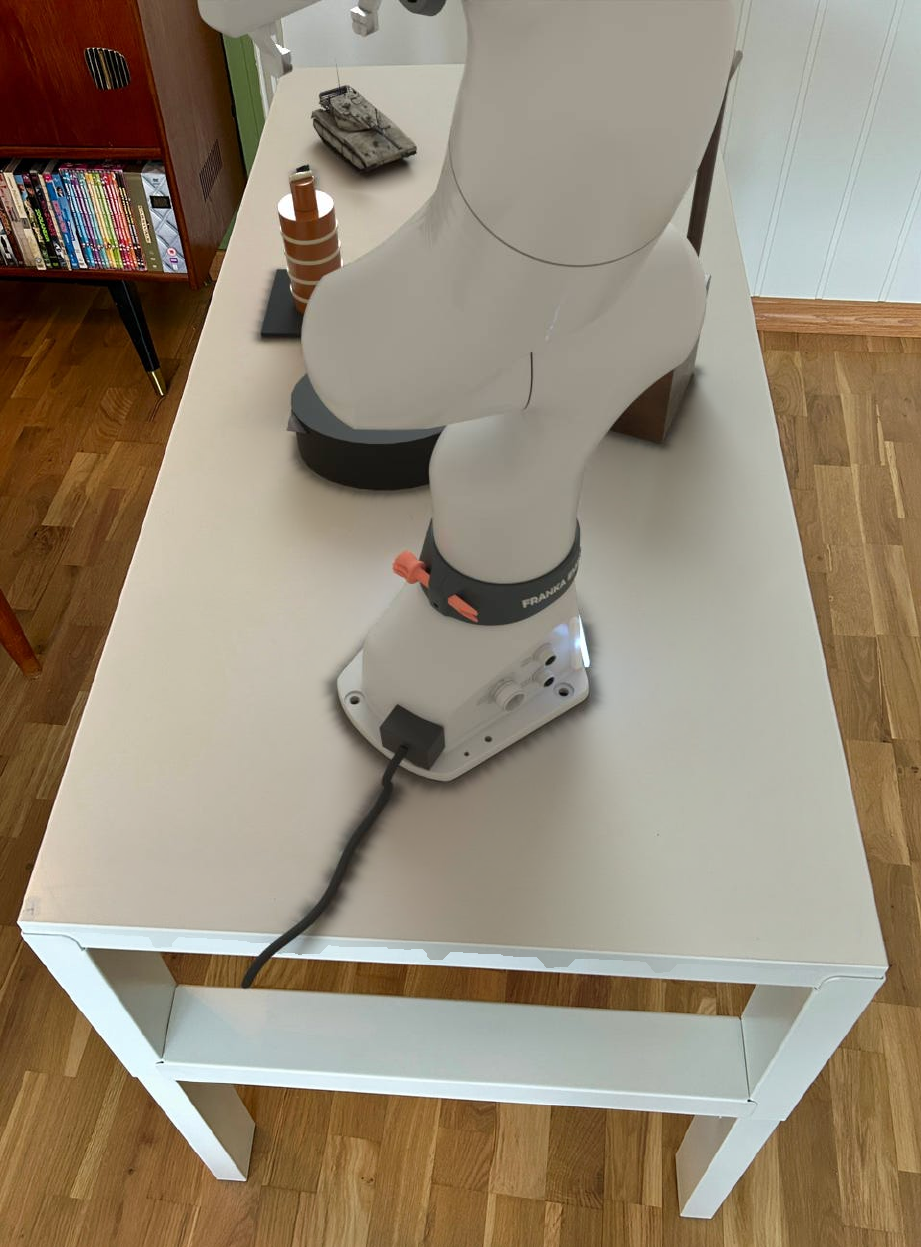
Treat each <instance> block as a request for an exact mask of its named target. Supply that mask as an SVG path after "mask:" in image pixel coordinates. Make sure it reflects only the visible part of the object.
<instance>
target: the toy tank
mask: <svg viewBox="0 0 921 1247" xmlns="http://www.w3.org/2000/svg"><path fill="white" fill-rule="evenodd" d="M334 59H335V61H336V60H337V59H336V58H334ZM335 67H336V68H338V66H337V64H336V65H335ZM336 72H337V73H336V74H337V75H339V72H338V70H336ZM337 81H338V87H334V88H331V89H328V90H324V91H321V92H319V94H318V99H319V101H318V105H320V107H321V108H318V109H315V110H312V111H311V115H310V116H311V117H310V120H311V119H312V126H313V128H314V131H315V132H316V133H317V135H318V137H319V139H320V140H321V142H322V143H323V144H324V145H325V146H326V147H327V148H328V149H330V150H331V151H332V152H333V153H334V154H335V155H336V156H338V157H339V158H340V159H341V160H342V161H343V162H344V163H346V164H347V165H348V166H349V167H350V168H351V169H353V170H354V171H355V172H356V173H357V174H360V173H364V172H366V173H368V172H369V171H370V170H375V169H377V168H379V166H382V165H385V164H388V163H390V162H393V161H396V160H402V159H405V158H407V159H409V157H412V156H415V155H417V154H418V152H417V151H418V146H417V145H416V143H415V142H414V141H413V140H412V138H410V137H409V136H408V135H407V134H405V133H404V132H403V130H401V128H400V127H399V126H398V125H397V124H396V123H395V122H394V121H393V120H391V119H390V118H389V117H388V116H387V115H386V114H384V113H383V112H382V111H381V110H379V108H377V107H376V106H374V104H372V103H371V102H370V101H369V100H367V99H366V98H365V97H364V96H363V95H361V94H360V93H359V92H358V91H357V90H356V89H355V88H354V87H351V86H350V85H347V84H346V85H345V84H344V85H342V86H341V85H340V79H339V77H337Z"/></svg>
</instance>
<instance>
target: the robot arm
mask: <svg viewBox="0 0 921 1247" xmlns="http://www.w3.org/2000/svg"><path fill="white" fill-rule="evenodd" d="M382 1H383V0H358V1H357V6H356V7H354V8H352V9H350V17H351V18H350V19H351V20H352V22H351V26H352V30H353V32H354V33H355V35H360V36H361V37H363V38H366V37H369V36H370V35H373V34H374V33H376V32H378V31H379V30H380V25H379V13H378V11H379V10H380V7H381V3H382ZM319 2H322V0H197V6H198V7H197V8H198V12H199V15H200V17H201V19H202V20H203V21H204V22H205V23H206V24H207V25H208V26H209V27H210V28H212V29H214V30H216V31H217V32H218V33H220V34H223V35H226V36H228V37H230V38H233V39H237V38H241V37H243V36H244V35H248V37H249V38H250V39H251V40H252V42H253V43H254V44H255V46H256V47H257V48H258V49H259V50H260V51H261V53H262V57H263V58H262V59H263V63H264V69H265V72H266V73H267V74H268V75H269V76H271V77H273V78H274V79H279V78H281V77H284V76H286V75H288V74H289V73H292V72H293V69H294V68H293V64H292V55H291V50H288V48H283V47H282V46H281V45H279V44H276V42H275V41H274V40H273V38H272V37H273V36H276V34H277V29H276V21H279V20H280V19H283V18H285V17H288V16H290V15H292V14H295V13H296V12H299V11H301V10H303V9H305V8H308V7H310V6H312V5H314V4H316V3H319ZM398 2H399V3H400V4H401V5H402V6H403V7H404V8H405V9H406V10H407V11H408V12H410V13H412V14H415V15H419V16H420V15H421V16H425V17H435V16H437V15H438V14H440V12H442V10H443V8H444V7H445V5H446V2H447V0H398ZM460 4H461V7H462V11H463V15H464V19H465V26H466V53H465V61H464V66H463V72H462V74H461V75H462V76H461V79H460V82H459V87H458V91H457V94H456V98H455V102H454V107H453V112H452V117H451V122H450V127H449V128H450V129H449V134H448V140H447V143H446V144H447V145H446V151H445V155H444V160H443V164H442V167H441V170H440V174H439V178H438V182H437V185H436V188H435V190H434V192H433V193H432V195H430V197H429V198H428V199H427V200H426V202H425V203H423V204H422V205H421V207H420V208H419V209H417V211H416V212H415V213H414V214H413V215H412V216H411V217H410V218H408V220H406V222H404V224H403V225H401V226H400V227H399V228H397V230H396V231H395V232H393V233H392V234H391V235H389V237H388V238H386V239H385V240H384V241H383V242H381V243H380V244H377V246H375V247H374V248H372V249H371V250H370V251H368V252H366V253H365V254H363V255H361V256H360V257H358V258H356V259H354V260H353V261H351V262H349V263H347V264H345V265H343V267H341V268H339V269H337V270H335V271H333V272H331V273H329V274H327V275H325V276H323V277H322V278H321V280H320V281H319V282H318V284H317V285H316V287H315V289H314V291H313V293H312V294H311V297H310V299H309V302H308V304H307V307H306V310H305V314H304V318H303V324H302V333H301V338H300V342H301V343H300V344H301V354H302V361H303V364H304V368H305V373H306V372H307V374H308V377H309V380H310V382H311V384H312V386H313V388H314V390H315V392H316V393H317V395H318V396H319V398H320V399H321V401H322V402H323V403H324V404H325V406H326V407H327V408H328V409H329V410H330V411H331V412H332V413H333V414H334V415H335V416H336V417H337V418H339V419H340V420H341V421H342V422H344V423H345V424H347V425H348V426H350V427H351V428H353V429H365V430H413V429H430V428H435V427H440V426H445V425H447V426H446V427H445V428H444V430H443V431H442V433H441V435H440V436H439V438H438V440H437V443H436V445H435V447H434V450H433V452H432V456H431V459H430V464H429V479H430V484H429V491H430V492H429V494H430V507H431V518H430V521H429V524H428V525H427V529H426V531H425V537H424V541H423V544H422V548H421V552H420V554H419V557H416V555H415V554H414V553H412V552H411V551H410V550H404V551H402V552H400V553H399V554H398V555H397V556H396V558H395V559H394V562H393V563H392V568H391V569H392V571H393V573H395V574H396V575H397V576H399V577H401V578H403V579H404V580H405V582H404V584H403V585H402V586H401V587H400V589H399V590H398V592H396V595H395V596H394V597H393V599H392V600H391V602H390V603H389V605H388V606H387V607H386V609H385V610H384V611H383V613H382V614H381V616H380V617H379V618H378V620H377V622H376V623H375V624H374V626H373V627H372V629H371V630H370V631H369V633H368V635H367V636H366V638H365V641H364V645H363V646H362V648H361V650H360V651H359V652H358V653H357V654H356V655H355V656H354V657H353V659H351V661H350V662H349V663H348V664H347V666H346V667H345V668H344V669H342V670H343V671H342V672H340V674H339V676H338V677H337V679H336V690H337V696H338V700H339V703H340V704H341V707H342V709H343V711H344V713H345V715H346V716H347V718H348V719H349V721H350V722H351V724H352V725H353V726H354V728H356V730H357V731H358V732H359V733H360V734H361V735H362V736H363V738H365V739H366V740H367V741H368V742H369V743H370V744H371V745H372V746H373V747H374V748H376V749H377V751H379V752H380V753H381V754H383V755H384V756H385V757H387V759H390V761H389V762H388V764H387V766H386V768H385V769H384V771H383V775H382V778H381V786H382V787H383V788H382V791H381V793H380V795H379V796H378V799H377V801H376V802H375V804H374V806H373V807H372V809H371V810H370V811H369V812H368V814H367V815H366V817H364V819H363V820H362V821H361V823H360V824H359V825H358V827H357V828H356V829H355V831H354V832H353V834H352V835H351V837H350V838H349V840H348V842H347V844H346V845H345V847H344V848H343V849H344V850H343V852H342V854H341V856H340V858H339V861H338V863H337V865H336V868H335V870H334V873H333V875H332V877H331V880H330V882H329V885H328V886H327V888H326V890H325V891H324V893H323V895H322V897H321V898H320V899H319V901H318V902H317V903H316V904H315V905H314V906H313V908H312V909H311V910H310V912H309V913H307V914H306V916H304V917H303V918H302V919H301V920H300V921H299V922H297V923H296V924H295V925H294V926H292V927H291V928H290V929H288V930H287V931H286V932H284V933H282V935H280V936H279V937H278V938H276V939H275V940H274V941H273V942H271V943H269V945H268V946H267V947H265V948H264V949H263V950H262V951H261V952H260V953H259V954H258V955H257V957H256V958H255V959H254V960H253V961H252V963H251V964H250V966H249V967H248V969H247V971H246V972H245V974H244V976H243V979H242V981H241V984H240V986H241V989H244V990H246V989H249V988H250V987H251V986H252V985H253V982H254V980H255V979H256V977H257V975H258V974H259V973H260V971H261V969H262V968H263V967H264V966H265V965H266V963H267V962H268V961H269V960H270V959H271V958H272V957H273V956H274V955H276V954H277V953H278V952H279V951H281V949H283V948H284V947H286V946H287V945H288V944H289V943H291V942H292V941H293V940H295V939H297V938H298V937H299V936H300V935H302V934H303V933H304V932H305V931H306V930H308V929H309V928H310V927H311V926H312V925H313V924H314V923H315V922H316V921H317V920H318V919H319V918H320V917H321V916H322V914H323V913H324V912H325V911H326V909H327V908H328V907H329V905H330V904H331V902H332V900H333V899H334V898H335V895H336V893H337V892H338V890H339V888H340V885H341V883H342V881H343V879H344V876H345V875H346V874H345V873H346V872H347V868H348V866H349V865H350V864H349V863H350V862H351V859H352V857H353V855H354V853H355V851H356V849H357V847H358V845H359V843H361V841H362V839H363V837H364V836H365V835H366V833H367V832H368V831H369V830H370V828H371V827H372V825H373V824H374V823H375V822H376V820H377V818H378V817H379V815H380V814H381V813H382V812H383V810H384V808H385V806H386V805H387V803H388V802H389V800H390V797H391V795H392V793H393V789H394V784H393V782H392V780H393V778H394V775H395V773H396V771H397V769H398V768H399V767H402V768H404V769H405V770H407V771H409V772H411V773H413V774H415V775H417V776H420V777H423V778H426V779H430V780H433V781H439V782H450V781H453V780H454V779H457V778H458V777H460V776H461V775H463V774H465V773H467V772H469V771H470V770H472V769H473V768H475V767H477V766H478V765H480V764H482V763H483V762H485V761H486V760H488V759H490V758H491V757H493V756H495V755H496V754H498V753H500V752H501V751H504V749H506V748H508V747H509V746H511V745H513V744H514V743H516V742H517V741H520V740H521V739H523V738H525V737H526V736H528V735H529V734H530V733H532V732H534V731H536V730H537V729H539V728H542V727H543V726H544V725H546V724H548V723H549V722H550V721H552V720H554V719H555V718H558V717H559V716H561V715H562V714H564V713H566V712H567V711H568V710H570V709H572V708H573V707H576V706H577V705H579V704H581V703H582V702H583V701H585V700H586V699H587V697H588V696H589V692H590V686H589V678H588V674H587V671H586V668H589V667H590V658H589V653H588V648H587V643H586V632H585V626H584V623H583V619H582V617H581V615H580V611H579V610H580V609H579V602H578V596H577V589H576V588H577V586H576V581H575V579H576V576H577V574H578V570H579V565H580V560H581V557H582V546H581V526H580V521H579V517H578V512H579V506H580V498H581V491H582V487H583V482H584V478H585V477H584V476H585V475H586V471H587V468H588V465H589V463H590V461H591V459H592V457H593V455H594V453H595V452H596V450H597V448H598V447H599V445H600V444H601V442H602V441H603V439H604V438H605V436H606V435H607V434H608V432H609V431H610V430H609V429H610V428H611V427H612V425H613V424H614V423H615V422H616V420H617V419H618V418H619V417H620V415H621V414H622V413H623V412H624V411H625V410H626V409H627V408H628V407H629V405H630V404H631V403H632V402H633V401H634V400H635V399H636V398H637V397H638V396H639V395H641V394H642V393H643V392H644V391H645V390H646V389H647V388H648V387H650V386H651V385H652V384H653V383H654V382H656V381H657V380H658V379H660V378H661V377H663V376H664V375H665V374H667V373H668V372H670V371H671V370H673V369H674V368H676V367H677V366H679V365H680V364H682V363H683V362H684V361H685V360H686V358H687V357H688V356H689V354H690V352H691V351H692V349H693V348H694V346H695V344H696V342H697V340H698V337H699V335H700V336H701V333H700V332H702V329H703V325H704V322H705V318H706V313H707V304H708V296H707V290H706V281H705V276H704V274H705V272H704V268H703V266H702V263H701V260H700V257H699V258H698V255H697V253H696V251H695V249H694V248H693V246H692V245H691V243H690V241H689V240H688V239H687V235H686V234H685V233H684V232H682V230H681V229H680V228H679V227H678V226H677V225H675V224H674V223H673V222H672V219H673V217H674V215H675V214H676V213H677V210H678V209H679V207H680V204H681V203H682V201H683V199H684V198H685V196H686V194H687V192H688V191H689V189H690V187H691V186H692V183H693V181H694V179H695V178H696V175H697V170H698V168H699V166H700V164H701V161H702V159H703V156H704V153H705V151H706V148H707V146H708V143H709V140H710V138H711V135H712V133H713V130H714V127H715V125H716V121H717V118H718V115H719V112H720V108H721V105H722V102H723V99H724V95H725V90H726V86H727V82H728V78H729V73H730V69H731V65H732V61H733V56H734V49H735V42H736V34H737V32H736V17H735V11H734V6H733V1H732V0H460ZM418 558H419V559H418ZM562 693H564V694H566V695H565V696H564V695H561V694H562ZM353 702H358V703H356V704H354V703H353Z"/></svg>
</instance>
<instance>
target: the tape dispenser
mask: <svg viewBox="0 0 921 1247" xmlns="http://www.w3.org/2000/svg"><path fill="white" fill-rule="evenodd" d="M290 408H291V409H290V415H289V418H288V421H287V427H286V431H287V432H291V433H292V432H293V433H295V437H296V441H297V446H298V451H299V455H300V458H301V459H302V461H303V463H304V464H305V465H306V467H307V468H309V469H310V470H311V471H313V472H314V473H315V474H316V475H318V476H320V477H322V478H324V479H325V480H327V481H330V482H333V483H335V484H338V485H340V486H343V487H349V488H354V489H358V490H367V491H368V490H369V491H399V490H407V489H413V488H414V489H415V488H418V487H422V486H428V485H430V479H429V464H430V459H431V456H432V452H433V450H434V447H435V445H436V443H437V440H438V438H439V436H440V435H441V433H442V431H443V430H444V428H445V427H446V426H447V425H445V426H440V427H435V428H430V429H413V430H365V429H353V428H351V427H350V426H348V425H347V424H345V423H344V422H342V421H341V420H340V419H339V418H337V417H336V416H335V415H334V414H333V413H332V412H331V411H330V410H329V409H328V408H327V407H326V406H325V404H324V403H323V402H322V401H321V399H320V398H319V396H318V395H317V393H316V392H315V390H314V388H313V386H312V384H311V382H310V380H309V377H308V374H307V372H306V371H305V373H304V374H303V376H302V377H301V378H300V379H298V381H297V382H296V383H295V385H294V387H293V389H292V390H291V393H290Z"/></svg>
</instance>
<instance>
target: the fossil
mask: <svg viewBox="0 0 921 1247" xmlns="http://www.w3.org/2000/svg"><path fill="white" fill-rule="evenodd" d="M295 171H296V173H300V172H306V171H311V169H310V164H309V163H307V164H303V165H301V166H299V167H296V169H295Z"/></svg>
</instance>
